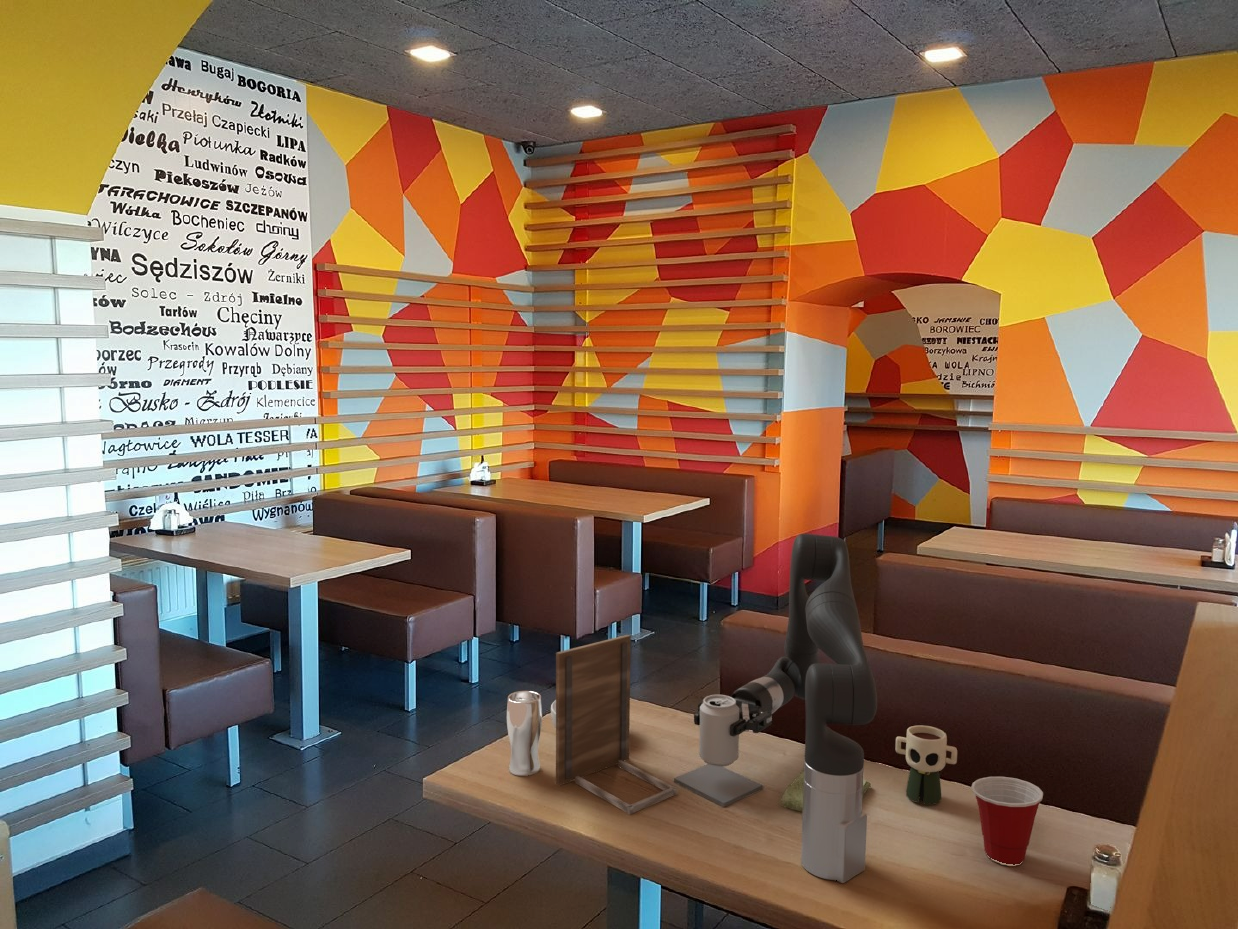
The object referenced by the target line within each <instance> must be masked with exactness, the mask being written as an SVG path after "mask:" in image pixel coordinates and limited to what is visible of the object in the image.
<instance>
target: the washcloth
mask: <svg viewBox="0 0 1238 929" xmlns="http://www.w3.org/2000/svg"><path fill="white" fill-rule="evenodd" d="M871 786H872V785H871V782H870V781H868V780H866V779H865V778H864V777H863V793H862V797H863V796H864V795H865V793H866V792H867V790H868V789H869V788H871ZM803 789H804V769H803V770H802V772H800V773H799V775H798V776H797V777H796V778H795V779H794V780H793V781H792V782H791V784H789V785H788V787H787V788H786V790H785V791H784V793H783V795H782V797H781V800H780V803H781V806H782V807H783V808H786V809H790V810H791V809H792V810H794V809H795V810H796V811H797V812H801V813H803Z"/></svg>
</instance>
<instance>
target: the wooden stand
mask: <svg viewBox="0 0 1238 929" xmlns="http://www.w3.org/2000/svg"><path fill="white" fill-rule="evenodd" d="M555 700H556V728H555V785H556V786H558V785H560V786H562V785H565V784H567V783H571V782H573V781H574V783H575V784H576V785H578V786H579V787H581V788H583V789H585V790H587V791H588V792H590V793H592V794H594V795H595V796H597V797H599V798H601V799H602V800H604V801H606V802H608V803H609V804H610V805H613V806H615V807H616V808H618V809H620V810H622V811H623V812H625V813H626V814H628V815H632V814H634V813H637V812H639V811H640V810H643V809H645V808H648V807H650V806H653V805H655V804H658V803H660V802H662V801H664V800H667V799H669V798H671V797H673V796H677V795H678V788H677V787H676V786H673V785H671V784H669V782H668V783H667V782H665V781H664V780H662V779H660V778H657V777H656V776H653V775H652V774H650V773H648V772H646V771H645V770H642V769H640V768H638V767H636V766H634V765H633V764H630V763H628V762H626V761H628V759H629V760H630V722H631V720H630V719H631V718H630V713H631V712H630V710H631V702H630V701H631V635H629V634H625V635H621V636H616V637H613V638H609V639H605V640H601V641H597V642H593V643H589V644H585V645H582V646H577V647H573V648H570V649H569V648H568V649H565V650H562V651H557V652H555ZM624 760H626V761H624ZM615 764H616V765H617V767H618V768H620V767H621V768H620V769H622V770H624V771H626V772H627V771H628V773H630V774H631V773H633V774H634V775H633V774H632V775H633V776H635V775H636V776H635V777H637V778H639V779H641V780H643V781H645V782H647V783H649V784H651V785H653V786H654V785H655V786H654V787H657V788H658V789H660V790H662V791H659V792H658V793H655V794H653V795H651V796H648V797H646V798H643V799H641V800H638V801H635V802H634V803H632V804H629V803H628V802H626V801H624V800H622V799H621V798H619V797H617V796H615V795H613V794H611V793H609V792H608V791H607V790H605V789H603V788H601V787H599V786H597V785H596V784H593V783H592V782H590V781H589V780H587V779H585V778H584V777H586V776H589V775H592V774H594V773H598V772H599V771H602V770H604V769H607V768H606V767H608V768H610V767H613V766H615Z"/></svg>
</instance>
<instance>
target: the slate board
mask: <svg viewBox="0 0 1238 929" xmlns="http://www.w3.org/2000/svg"><path fill="white" fill-rule="evenodd" d="M673 783H674V784H677V785H679V786H681V787H683V788H684V789H687V790H689V791H691V792H692V793H695V794H696V795H699V796H700V797H703V798H704V799H707V801H708V800H709V801H710V802H712V803H715V804H716V805H719V806H720V807H723V808H725V807H727V806H730V805H731V804H734V803H735V802H738V801H740V800H742V799H744V798H746V797H749V796H751V795H753V794H755V793H757V792H759V791H761V790H763V789H764V786H763V784H761V783H759V782H757V781H755V780H753V779H751V778H748V777H747V776H744V775H741V774H740V773H738V772H735V771H733V770H731V769H729V768H726V766H723V767H717V766H712V765H709V764H707V763H706V764H704V765H703V766H700V767H698V768H695V769H692V770H690V771H688V772H687V771H686V772H685V773H682V774H680V775H677V776H676V777H673Z"/></svg>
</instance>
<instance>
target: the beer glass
mask: <svg viewBox="0 0 1238 929" xmlns="http://www.w3.org/2000/svg"><path fill="white" fill-rule="evenodd" d="M506 706H507V707H506V727H507V733H508V740H509V744H510V745H509V746H510V751H511V752H510V763H509V767H508V770H509V772H510V773H511V774H512V775H513V776H514V775H515V776H519V777H528V775H529V776H533V775H535V774H537V773H538V772H539V771H540V769H541V766H540V759H539V744H540V738H541V734H542V733H541V732H542V726H543V725H542V724H543V709H542V707H543V706H542V695H541V694H540V693H539V692H537V691H532V690H520V691H519V690H518V691H515V692H512V693H509V695H508V696H507V705H506Z"/></svg>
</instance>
